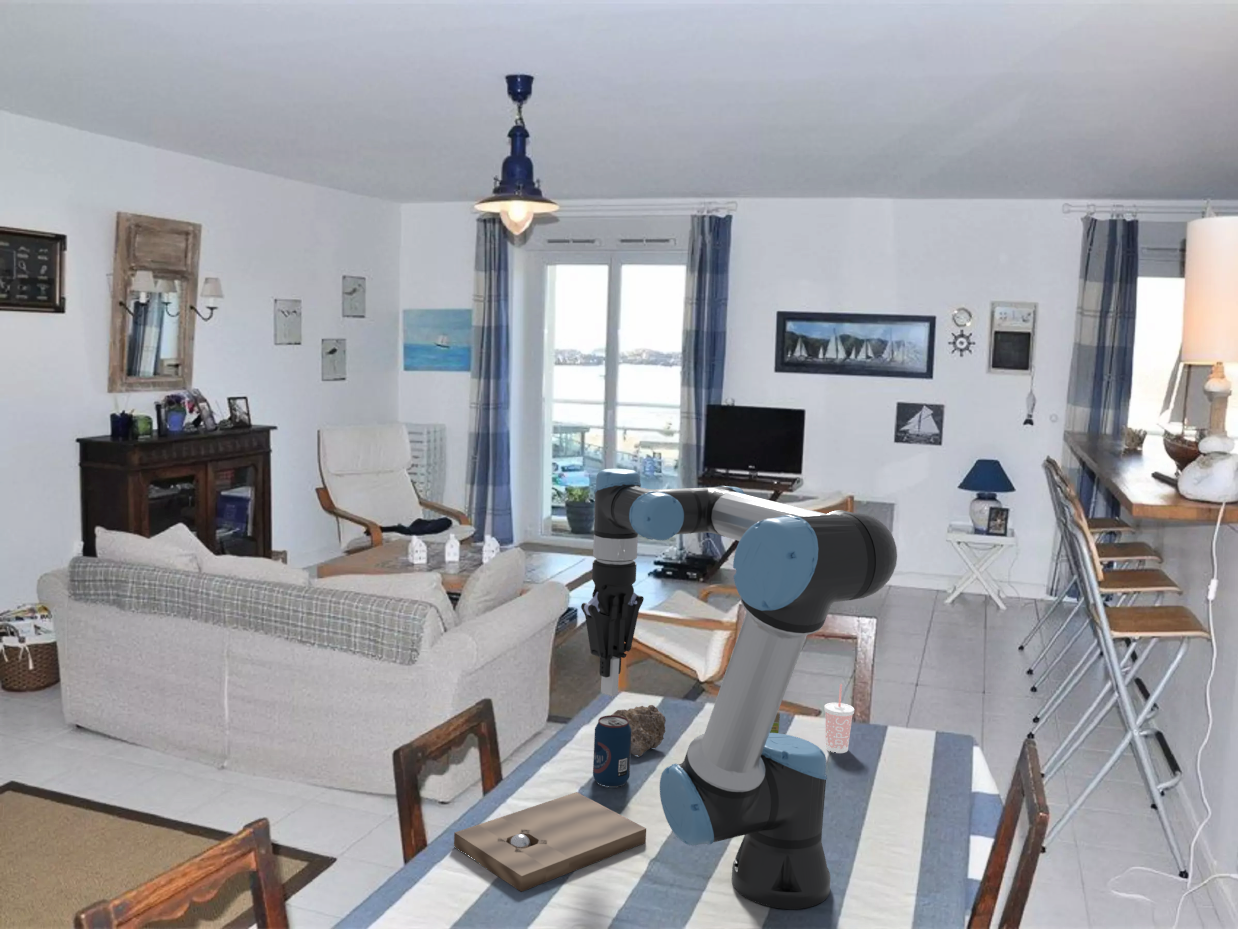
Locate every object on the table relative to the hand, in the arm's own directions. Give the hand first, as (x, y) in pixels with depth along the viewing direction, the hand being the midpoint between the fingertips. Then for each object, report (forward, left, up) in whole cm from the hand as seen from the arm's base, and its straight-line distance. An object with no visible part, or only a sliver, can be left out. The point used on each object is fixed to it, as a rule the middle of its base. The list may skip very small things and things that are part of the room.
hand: (609, 693), depth 187 cm
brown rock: (+19, -26, -23) cm, 39 cm away
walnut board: (-3, +14, -22) cm, 27 cm away
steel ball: (-3, +21, -20) cm, 29 cm away
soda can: (+10, -11, -22) cm, 27 cm away
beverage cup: (-6, -60, -22) cm, 64 cm away
